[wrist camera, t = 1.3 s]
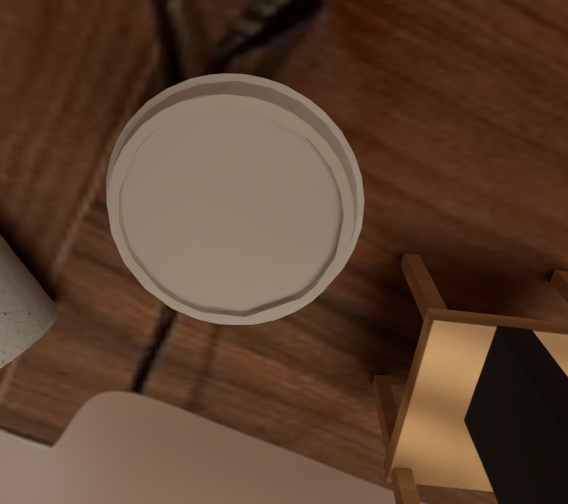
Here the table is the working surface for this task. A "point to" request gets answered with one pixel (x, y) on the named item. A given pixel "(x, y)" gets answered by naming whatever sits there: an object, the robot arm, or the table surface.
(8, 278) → the ceramic mug
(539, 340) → the robot arm
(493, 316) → the chair
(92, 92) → the table surface
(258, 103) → the disposable coffee cup
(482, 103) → the table surface
